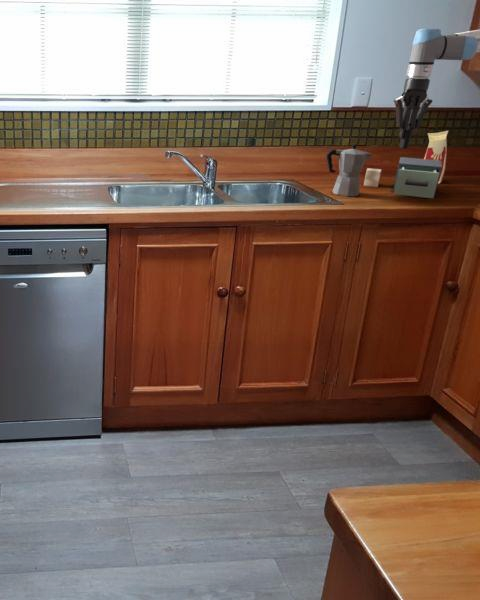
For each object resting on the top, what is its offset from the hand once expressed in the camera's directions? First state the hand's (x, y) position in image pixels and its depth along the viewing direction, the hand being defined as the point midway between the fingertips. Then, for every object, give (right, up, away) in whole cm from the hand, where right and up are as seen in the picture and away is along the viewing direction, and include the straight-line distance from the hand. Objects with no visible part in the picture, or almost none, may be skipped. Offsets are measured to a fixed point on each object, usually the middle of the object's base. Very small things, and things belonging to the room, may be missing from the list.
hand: (402, 147), depth 218 cm
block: (-2, -10, +20) cm, 22 cm away
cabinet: (+10, -13, +12) cm, 20 cm away
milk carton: (+26, -6, +30) cm, 40 cm away
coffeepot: (-20, -16, +5) cm, 26 cm away
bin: (+5, -16, +2) cm, 17 cm away
